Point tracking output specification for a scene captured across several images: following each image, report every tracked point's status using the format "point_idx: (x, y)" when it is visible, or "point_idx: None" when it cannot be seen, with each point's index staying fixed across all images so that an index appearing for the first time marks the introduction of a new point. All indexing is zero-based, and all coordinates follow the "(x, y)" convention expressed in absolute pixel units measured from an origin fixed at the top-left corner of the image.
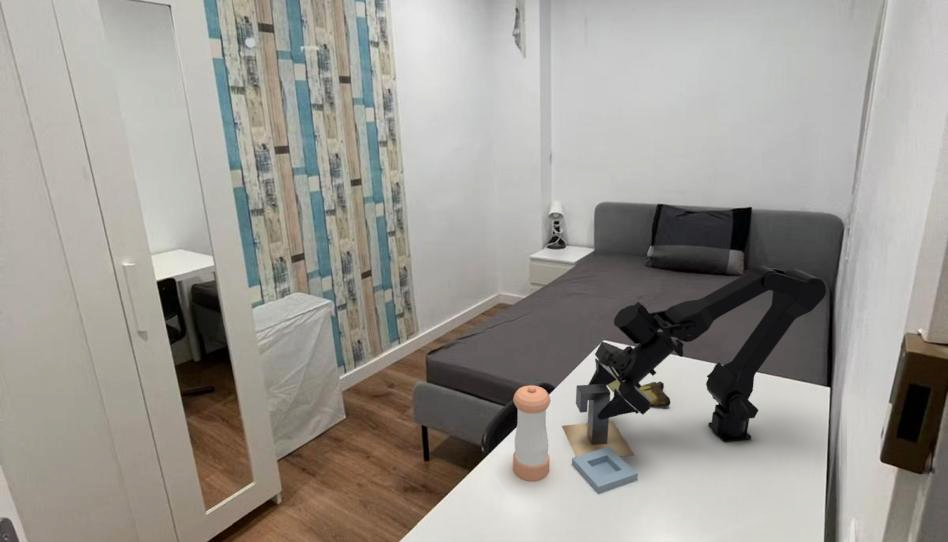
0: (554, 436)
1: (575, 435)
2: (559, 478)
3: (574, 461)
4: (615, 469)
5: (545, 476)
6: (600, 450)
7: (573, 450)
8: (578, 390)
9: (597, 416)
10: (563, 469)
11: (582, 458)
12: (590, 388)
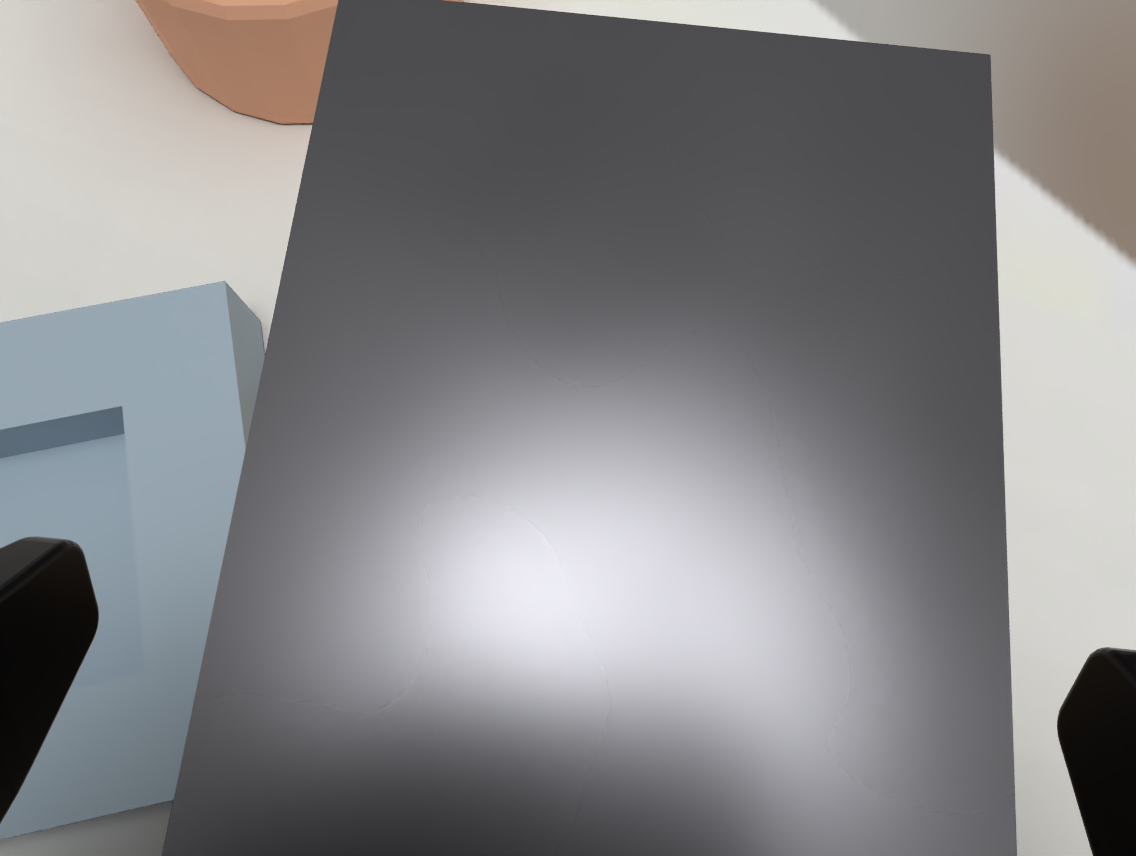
0: None
1: None
2: (149, 171)
3: (181, 293)
4: None
5: (166, 46)
6: None
7: None
8: (691, 66)
9: (49, 539)
10: (246, 239)
11: (181, 379)
12: (671, 514)
